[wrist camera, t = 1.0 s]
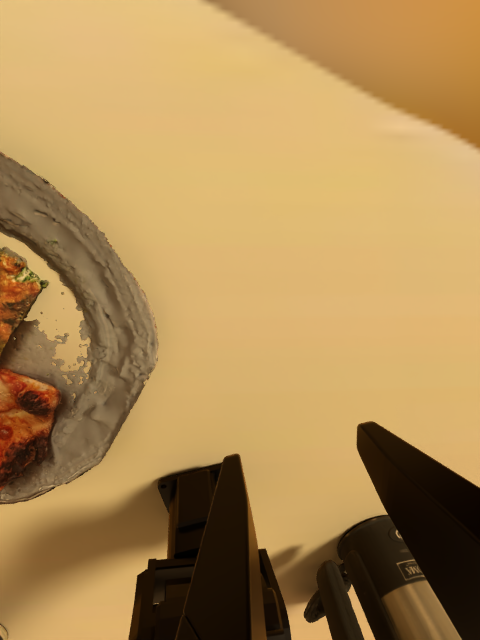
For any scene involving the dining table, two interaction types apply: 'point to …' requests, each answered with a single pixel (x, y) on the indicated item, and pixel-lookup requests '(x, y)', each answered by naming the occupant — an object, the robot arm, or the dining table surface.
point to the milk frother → (378, 589)
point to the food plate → (35, 363)
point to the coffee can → (3, 633)
